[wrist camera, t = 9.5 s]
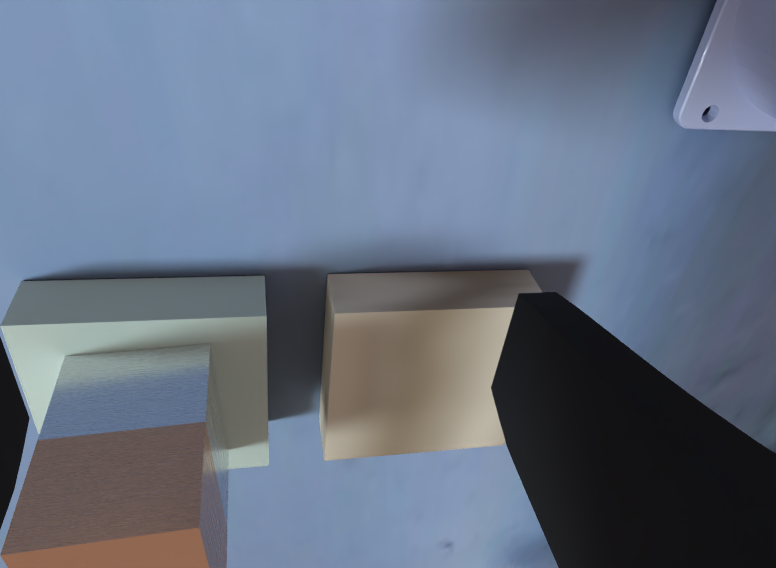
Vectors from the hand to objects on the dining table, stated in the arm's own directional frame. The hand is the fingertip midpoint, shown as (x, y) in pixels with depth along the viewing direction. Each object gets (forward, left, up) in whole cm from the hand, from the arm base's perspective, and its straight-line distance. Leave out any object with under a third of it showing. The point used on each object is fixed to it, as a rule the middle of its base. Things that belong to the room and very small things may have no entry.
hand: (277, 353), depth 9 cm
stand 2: (-6, +9, -9) cm, 14 cm away
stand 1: (+4, +9, -9) cm, 13 cm away
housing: (+4, +9, -7) cm, 12 cm away
